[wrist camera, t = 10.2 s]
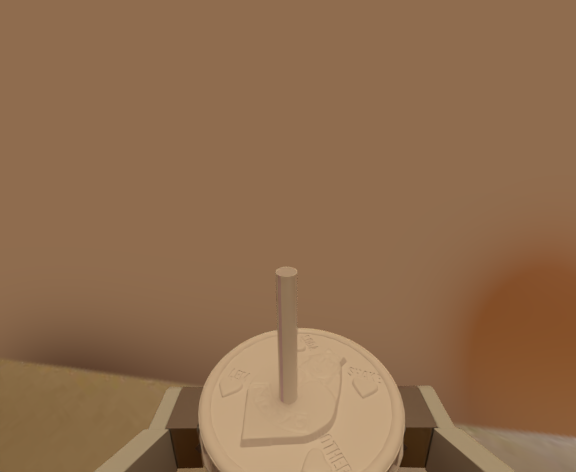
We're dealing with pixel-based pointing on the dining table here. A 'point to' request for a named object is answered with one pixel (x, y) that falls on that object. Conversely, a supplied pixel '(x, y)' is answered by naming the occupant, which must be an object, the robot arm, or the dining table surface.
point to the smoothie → (300, 402)
